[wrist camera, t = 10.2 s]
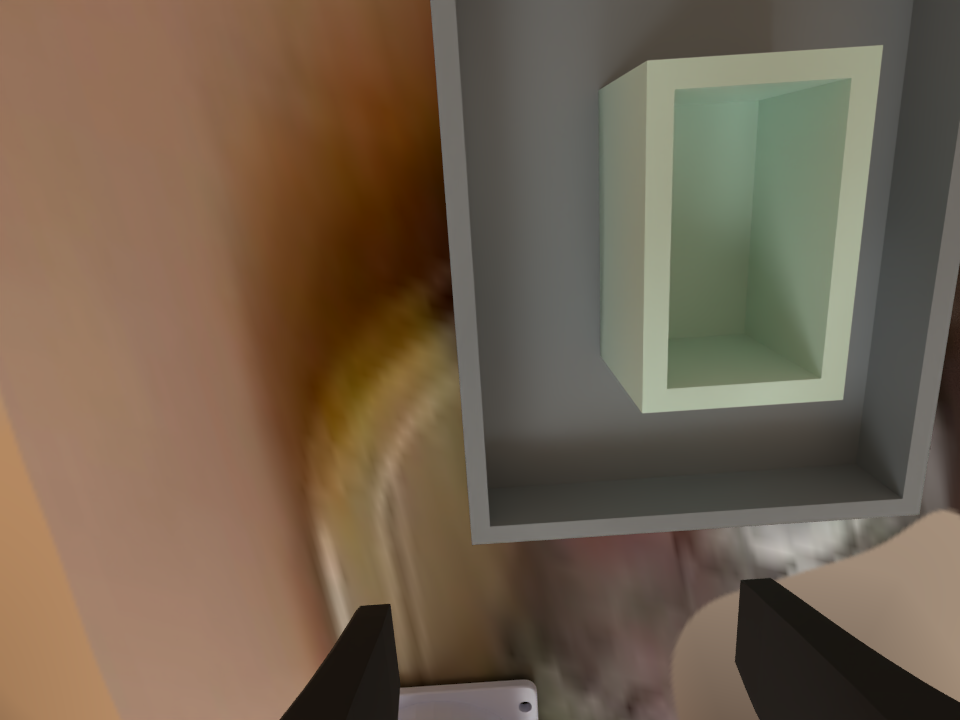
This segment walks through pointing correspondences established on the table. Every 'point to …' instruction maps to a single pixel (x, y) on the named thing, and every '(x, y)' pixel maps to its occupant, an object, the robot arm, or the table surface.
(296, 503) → the table surface
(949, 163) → the grey tray
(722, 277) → the mint crate
